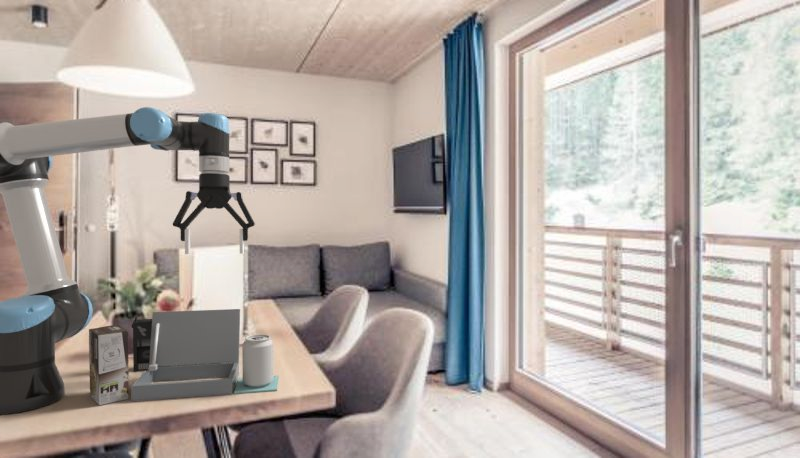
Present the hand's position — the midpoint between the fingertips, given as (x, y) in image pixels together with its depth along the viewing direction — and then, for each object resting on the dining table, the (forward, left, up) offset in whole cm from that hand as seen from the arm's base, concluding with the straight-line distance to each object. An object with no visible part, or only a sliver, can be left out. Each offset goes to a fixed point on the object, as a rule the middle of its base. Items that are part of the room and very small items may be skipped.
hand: (215, 253), depth 126 cm
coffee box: (-22, -11, -33) cm, 41 cm away
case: (-5, -6, -33) cm, 34 cm away
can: (+12, -10, -32) cm, 36 cm away
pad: (+12, -10, -33) cm, 36 cm away
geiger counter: (-18, +10, -33) cm, 39 cm away
